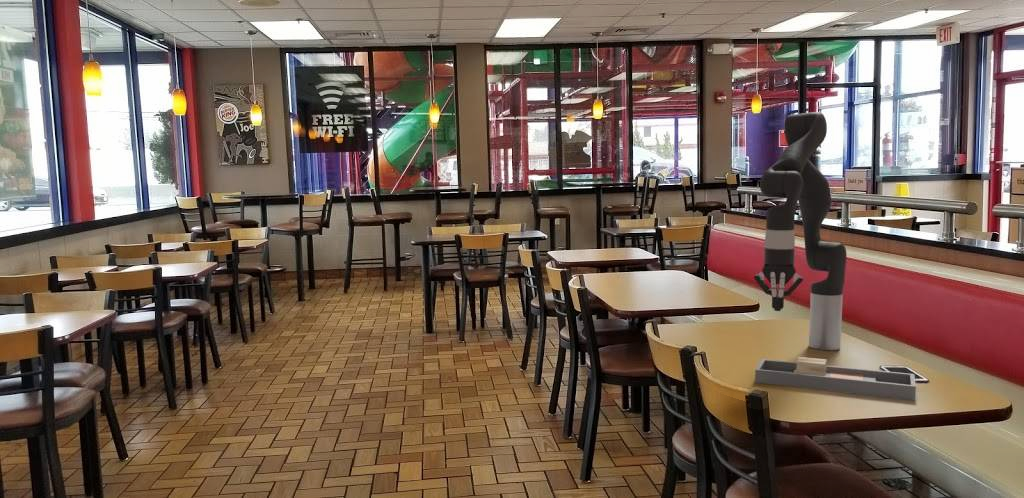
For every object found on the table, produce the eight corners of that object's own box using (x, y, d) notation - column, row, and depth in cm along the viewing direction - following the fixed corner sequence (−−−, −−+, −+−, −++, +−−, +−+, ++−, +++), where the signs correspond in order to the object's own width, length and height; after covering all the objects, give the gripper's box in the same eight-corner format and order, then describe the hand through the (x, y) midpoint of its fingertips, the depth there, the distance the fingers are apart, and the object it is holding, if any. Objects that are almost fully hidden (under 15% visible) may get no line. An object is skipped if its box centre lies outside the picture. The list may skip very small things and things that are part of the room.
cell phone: (900, 383, 206) (900, 380, 206) (878, 368, 221) (878, 365, 221) (930, 384, 206) (930, 380, 206) (906, 369, 220) (906, 365, 220)
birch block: (798, 371, 210) (798, 356, 210) (825, 374, 207) (826, 359, 207) (796, 376, 206) (796, 361, 206) (824, 379, 203) (825, 364, 203)
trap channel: (761, 371, 218) (761, 359, 218) (913, 387, 202) (914, 374, 201) (754, 382, 207) (755, 369, 207) (915, 400, 191) (915, 386, 191)
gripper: (807, 245, 207) (805, 309, 209) (755, 243, 213) (754, 306, 215) (804, 249, 200) (802, 315, 202) (751, 246, 206) (749, 311, 208)
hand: (777, 310), depth 209 cm, fingers closed
